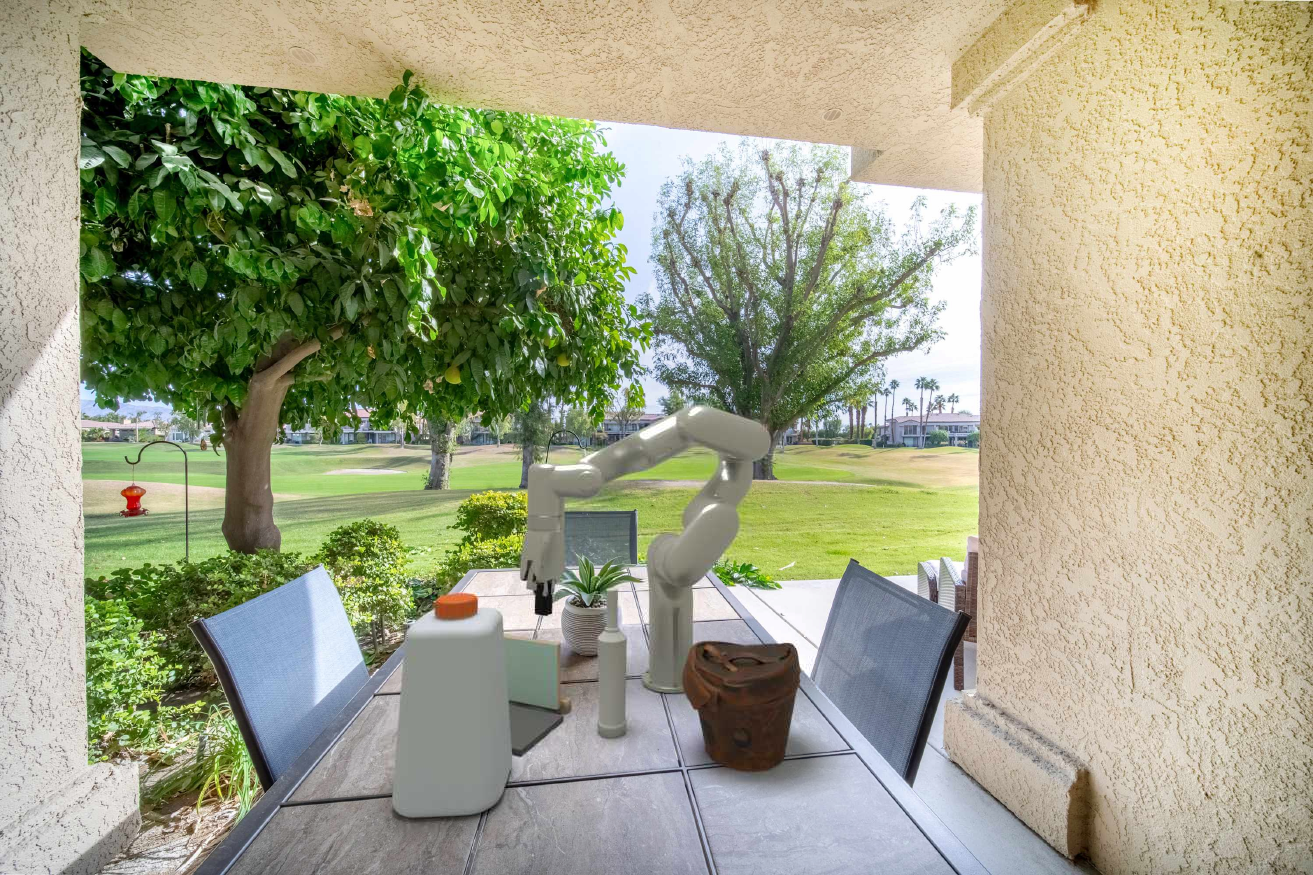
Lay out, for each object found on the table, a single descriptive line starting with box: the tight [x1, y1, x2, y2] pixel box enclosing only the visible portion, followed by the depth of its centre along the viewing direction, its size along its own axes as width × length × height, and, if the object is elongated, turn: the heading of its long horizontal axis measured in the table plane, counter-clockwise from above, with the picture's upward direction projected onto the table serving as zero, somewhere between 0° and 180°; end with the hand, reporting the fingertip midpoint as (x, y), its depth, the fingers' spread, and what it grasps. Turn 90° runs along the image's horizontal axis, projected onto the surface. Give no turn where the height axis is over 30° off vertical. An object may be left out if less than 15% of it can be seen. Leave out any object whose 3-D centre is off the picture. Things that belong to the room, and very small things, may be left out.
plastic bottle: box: [391, 592, 513, 819], centre depth 84 cm, size 15×15×28 cm
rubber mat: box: [509, 705, 564, 757], centre depth 102 cm, size 18×13×1 cm
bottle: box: [597, 587, 628, 739], centre depth 101 cm, size 5×5×25 cm
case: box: [682, 640, 802, 772], centre depth 94 cm, size 18×20×18 cm
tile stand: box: [508, 696, 572, 715], centre depth 111 cm, size 16×3×2 cm, turn 68°
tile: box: [504, 634, 562, 710], centre depth 110 cm, size 1×14×12 cm, turn 67°
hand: (543, 614), depth 116 cm, fingers closed
